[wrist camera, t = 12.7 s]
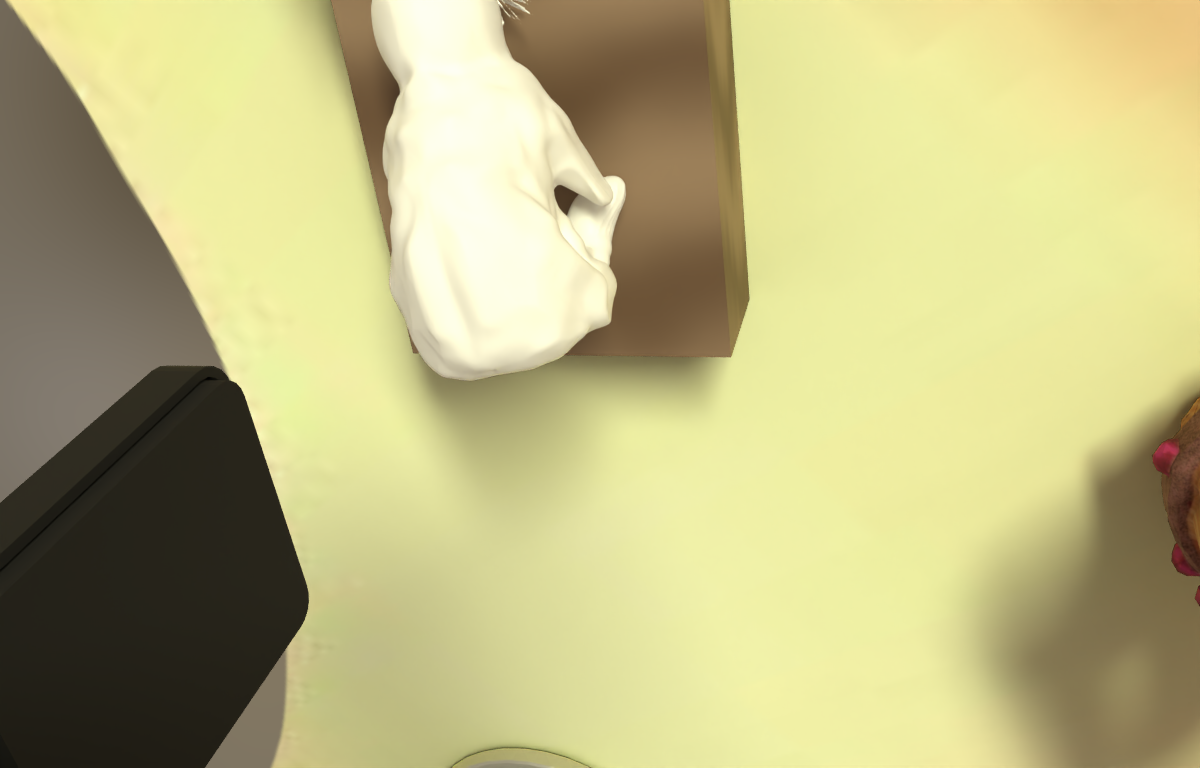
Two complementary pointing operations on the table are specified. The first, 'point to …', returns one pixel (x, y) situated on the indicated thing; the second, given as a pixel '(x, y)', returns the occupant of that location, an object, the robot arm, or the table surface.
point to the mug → (1183, 491)
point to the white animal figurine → (487, 197)
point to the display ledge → (624, 153)
